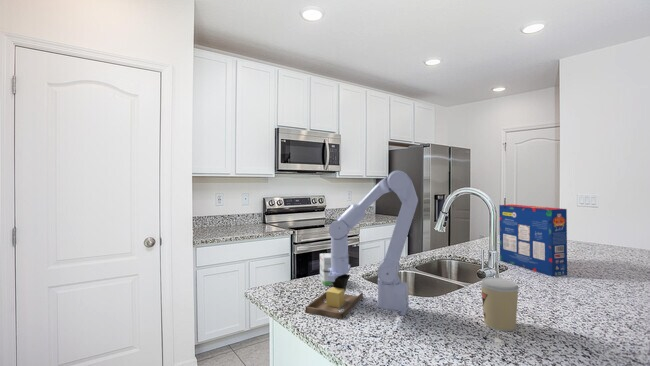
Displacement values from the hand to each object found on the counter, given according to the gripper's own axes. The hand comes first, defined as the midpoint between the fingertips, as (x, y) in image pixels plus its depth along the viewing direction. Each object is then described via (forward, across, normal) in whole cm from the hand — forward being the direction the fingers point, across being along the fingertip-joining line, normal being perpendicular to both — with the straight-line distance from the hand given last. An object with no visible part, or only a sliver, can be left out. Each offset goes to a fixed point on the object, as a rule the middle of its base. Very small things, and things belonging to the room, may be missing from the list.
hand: (340, 297), depth 107 cm
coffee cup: (+2, -4, +47) cm, 47 cm away
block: (+1, +4, 0) cm, 4 cm away
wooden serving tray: (+2, +4, 0) cm, 4 cm away
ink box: (+2, -16, -12) cm, 20 cm away
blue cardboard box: (+2, -76, +64) cm, 99 cm away
